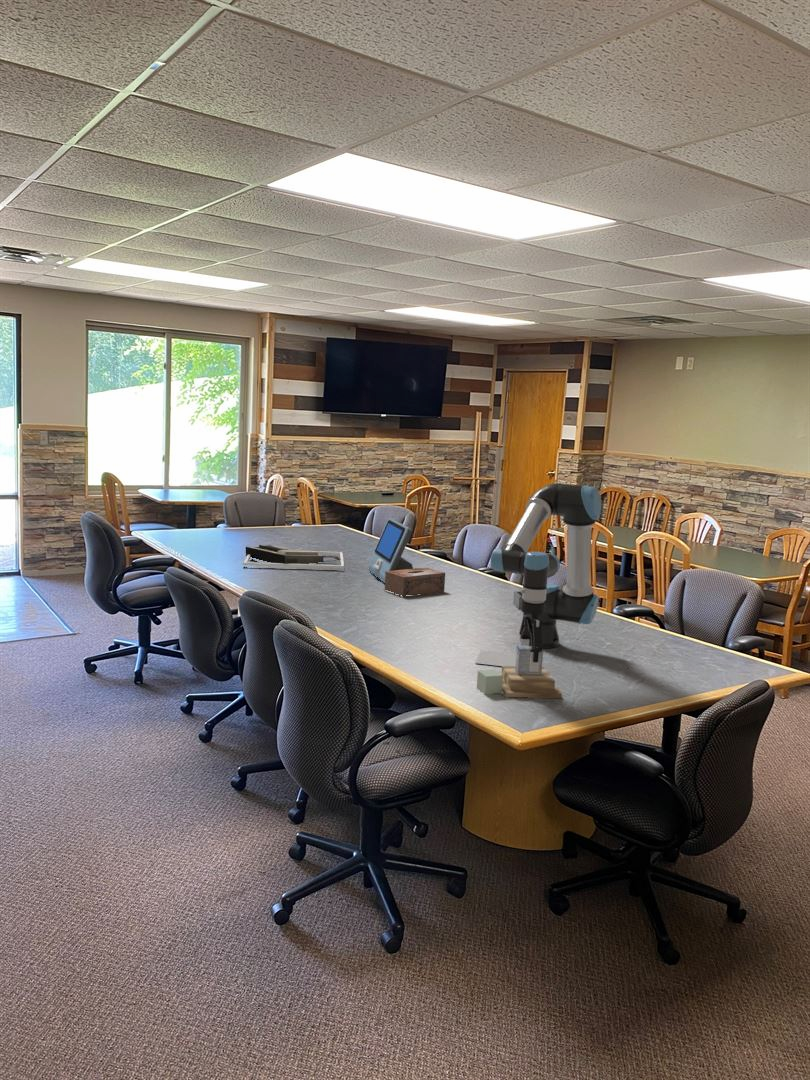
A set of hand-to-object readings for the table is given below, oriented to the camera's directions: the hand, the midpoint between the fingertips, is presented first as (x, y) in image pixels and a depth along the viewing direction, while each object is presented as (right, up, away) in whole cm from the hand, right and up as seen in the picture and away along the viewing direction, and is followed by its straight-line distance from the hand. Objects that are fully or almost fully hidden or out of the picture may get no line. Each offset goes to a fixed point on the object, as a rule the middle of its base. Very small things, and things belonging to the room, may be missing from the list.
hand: (528, 664), depth 265 cm
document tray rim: (-101, +28, +192) cm, 219 cm away
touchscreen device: (-47, +20, +163) cm, 171 cm away
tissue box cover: (-35, +15, +135) cm, 140 cm away
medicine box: (0, -3, 0) cm, 3 cm away
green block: (-13, -8, -3) cm, 16 cm away
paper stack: (-3, -4, +26) cm, 26 cm away
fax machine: (-101, +28, +192) cm, 219 cm away
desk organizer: (+22, +9, +116) cm, 118 cm away
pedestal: (0, -8, +1) cm, 8 cm away
